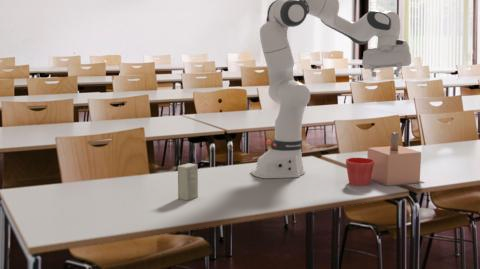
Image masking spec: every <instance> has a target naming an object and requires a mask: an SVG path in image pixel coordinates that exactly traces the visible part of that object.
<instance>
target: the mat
mask: <svg viewBox="0 0 480 269" xmlns="http://www.w3.org/2000/svg"><path fill="white" fill-rule="evenodd" d="M370 182H374V183H375V184H376V183H377V184H378V185H381V186H383V187H387V188H388V187H395V186H396V187H397V186H405V185H406V186H407V185H419V184H425V182H424V181H422V180H420V182H417V183H407V184H396V185H385V184H383V183H380V182H378V181H375V180H373V179H370Z"/></svg>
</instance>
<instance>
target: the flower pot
mask: <svg viewBox="0 0 480 269" xmlns="http://www.w3.org/2000/svg"><path fill="white" fill-rule="evenodd" d="M345 165H346V166H345V167H346V171H347V172H346V173H347V179H348V184H349V185H352V186H359V187H363V186H369V185H370V183H371V180H370V179H371V175H372V171H373V167H374V160H372V159H368V158H366V157H349V158H347V159H346V160H345Z"/></svg>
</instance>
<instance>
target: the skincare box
mask: <svg viewBox="0 0 480 269" xmlns="http://www.w3.org/2000/svg"><path fill="white" fill-rule="evenodd" d="M198 166H199V164H195V163H191V162H189V163H185V164H184V163H183V164H181V165H178V166H177V198H178V199H180V200H184V201H188V200H192V199H195V198H198V197H199V189H198V188H199V186H198V182H199V180H198V172H199V171H198V170H199V169H198Z"/></svg>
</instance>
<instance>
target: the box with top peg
mask: <svg viewBox="0 0 480 269" xmlns="http://www.w3.org/2000/svg"><path fill="white" fill-rule="evenodd" d="M399 139H400V133H399V132H398V131H391V132H390V141H389V143H390V144H389V145H388V146H375V147H374V146H373V147H367V158H368V159H372V160H374V167H373V171H372V175H371V179H373V180H375V181H378V182H380V183H383V184H385V185H396V184H407V183H417V182H420V181H421V167H422V166H421V165H422V164H421V163H422V152H421V151H418V150H415V149H411V148H408V147H405V146H403V145H402V146H401V145H399V143H400V142H399V141H400V140H399Z"/></svg>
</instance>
